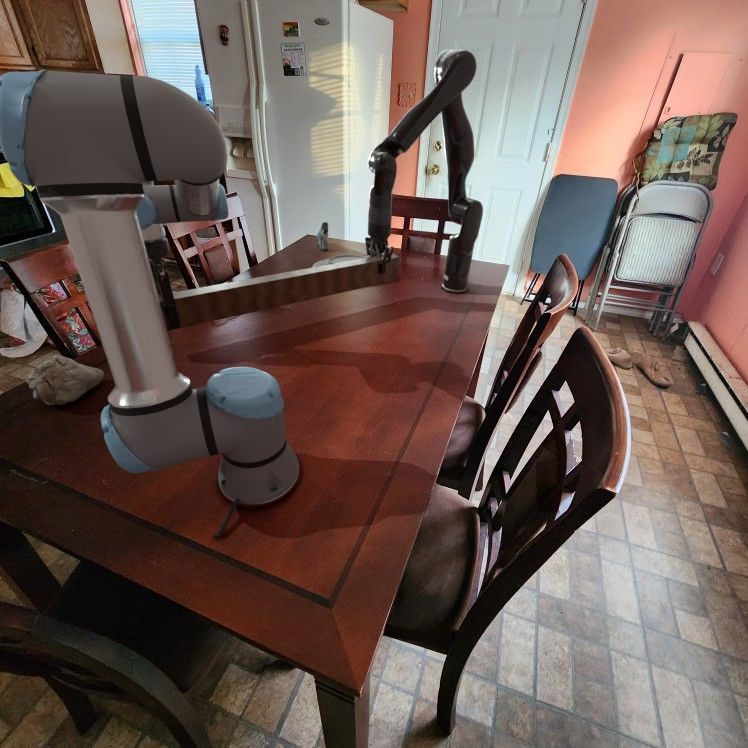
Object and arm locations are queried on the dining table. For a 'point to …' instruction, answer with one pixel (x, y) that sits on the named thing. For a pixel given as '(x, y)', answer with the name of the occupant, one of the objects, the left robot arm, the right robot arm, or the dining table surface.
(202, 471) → the dining table surface
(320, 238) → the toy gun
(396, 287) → the dining table surface
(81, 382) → the grey lumpy stone
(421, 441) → the dining table surface
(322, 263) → the brake disc
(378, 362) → the dining table surface
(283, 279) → the beam
